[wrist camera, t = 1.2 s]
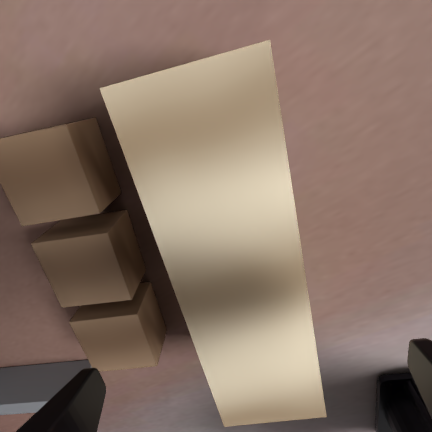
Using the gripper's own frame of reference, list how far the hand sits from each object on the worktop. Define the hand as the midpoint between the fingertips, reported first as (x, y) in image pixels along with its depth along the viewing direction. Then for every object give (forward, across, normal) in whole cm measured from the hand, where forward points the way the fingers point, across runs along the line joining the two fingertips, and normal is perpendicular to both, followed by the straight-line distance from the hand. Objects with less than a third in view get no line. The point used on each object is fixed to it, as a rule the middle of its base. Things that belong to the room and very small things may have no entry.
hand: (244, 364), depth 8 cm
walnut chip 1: (+9, +8, -5) cm, 13 cm away
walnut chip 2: (+9, +8, +5) cm, 13 cm away
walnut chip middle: (+9, +8, 0) cm, 12 cm away
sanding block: (+9, 0, 0) cm, 9 cm away
